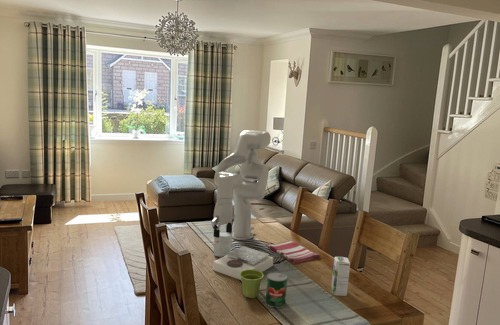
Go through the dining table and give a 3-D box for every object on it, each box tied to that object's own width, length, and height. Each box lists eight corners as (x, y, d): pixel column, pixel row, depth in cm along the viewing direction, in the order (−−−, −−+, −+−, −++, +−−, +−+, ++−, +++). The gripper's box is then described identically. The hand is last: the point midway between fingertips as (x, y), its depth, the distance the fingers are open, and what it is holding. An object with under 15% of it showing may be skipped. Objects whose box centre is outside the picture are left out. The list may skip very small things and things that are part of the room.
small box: (231, 253, 207) (232, 232, 205) (229, 257, 202) (230, 236, 200) (215, 251, 208) (216, 231, 206) (213, 256, 202) (214, 235, 201)
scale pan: (243, 248, 202) (243, 246, 202) (269, 256, 194) (269, 254, 194) (227, 256, 191) (227, 253, 191) (253, 264, 183) (254, 262, 183)
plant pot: (245, 302, 159) (246, 281, 158) (234, 291, 168) (235, 271, 166) (266, 298, 164) (267, 277, 162) (255, 287, 172) (256, 267, 170)
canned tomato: (270, 309, 155) (272, 281, 153) (261, 299, 162) (263, 273, 160) (289, 306, 158) (291, 278, 156) (279, 296, 165) (281, 270, 164)
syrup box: (330, 288, 174) (333, 256, 171) (344, 289, 174) (347, 257, 171) (332, 295, 168) (335, 261, 166) (347, 296, 168) (350, 262, 166)
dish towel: (293, 265, 197) (294, 259, 197) (265, 248, 217) (266, 243, 216) (320, 258, 206) (321, 253, 206) (291, 243, 226) (291, 238, 225)
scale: (241, 255, 204) (242, 246, 204) (272, 265, 194) (273, 256, 194) (213, 270, 186) (213, 260, 186) (245, 281, 177) (246, 271, 176)
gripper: (229, 196, 209) (227, 229, 211) (206, 202, 195) (205, 237, 197) (241, 199, 205) (239, 232, 207) (219, 204, 191) (217, 240, 193)
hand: (222, 234), depth 202 cm, fingers open, 9 cm apart
